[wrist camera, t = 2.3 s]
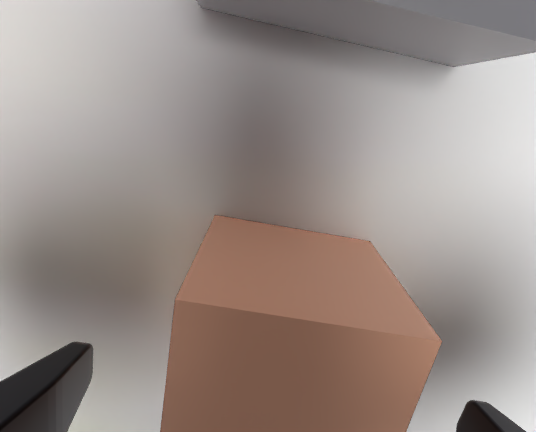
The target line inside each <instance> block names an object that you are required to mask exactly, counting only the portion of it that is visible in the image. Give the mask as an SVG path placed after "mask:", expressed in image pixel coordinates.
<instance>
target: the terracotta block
mask: <svg viewBox="0 0 536 432" xmlns="http://www.w3.org/2000/svg"><path fill="white" fill-rule="evenodd" d="M441 343H442V341H441V339H440V338H439V336H438V335H437V334H436V332H435V331H434V329H433V328H432V327H431V325H430V324H429V323H428V321H427V320H426V318H425V317H424V316H423V314H422V313H421V311H420V310H419V309H418V307H417V306H416V304H415V303H414V302H413V300H412V299H411V298H410V296H409V295H408V293H407V292H406V291H405V289H404V288H403V286H402V285H401V284H400V282H399V281H398V280H397V278H396V277H395V275H394V274H393V273H392V271H391V270H390V268H389V267H388V266H387V264H386V263H385V261H384V260H383V259H382V257H381V256H380V255H379V253H378V252H377V250H376V249H375V248H374V246H373V245H372V243H371V242H370V241H365V240H360V239H354V238H348V237H342V236H336V235H330V234H324V233H318V232H313V231H307V230H301V229H295V228H289V227H283V226H277V225H272V224H266V223H260V222H254V221H248V220H242V219H236V218H231V217H225V216H219V215H215V216H214V218H213V220H212V222H211V224H210V227H209V229H208V231H207V233H206V235H205V237H204V239H203V241H202V243H201V246H200V248H199V250H198V252H197V254H196V256H195V258H194V260H193V262H192V265H191V267H190V269H189V271H188V273H187V275H186V277H185V279H184V282H183V284H182V286H181V288H180V290H179V292H178V294H177V296H176V298H175V304H174V313H173V322H172V331H171V340H170V349H169V358H168V367H167V376H166V385H165V394H164V403H163V412H162V421H161V430H160V432H406V430H407V428H408V425H409V423H410V420H411V418H412V415H413V413H414V410H415V408H416V405H417V403H418V400H419V398H420V395H421V393H422V390H423V388H424V385H425V383H426V380H427V378H428V375H429V373H430V370H431V368H432V365H433V363H434V360H435V358H436V355H437V353H438V350H439V348H440V345H441Z"/></svg>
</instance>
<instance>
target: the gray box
mask: <svg viewBox="0 0 536 432" xmlns="http://www.w3.org/2000/svg"><path fill="white" fill-rule="evenodd" d="M196 1H197V3H198V4H199V5H200V7H201V8H205V9H209V10H213V11H218V12H222V13H226V14H230V15H235V16H239V17H243V18H248V19H252V20H256V21H260V22H265V23H269V24H273V25H277V26H282V27H286V28H290V29H295V30H299V31H303V32H307V33H312V34H316V35H320V36H325V37H329V38H333V39H337V40H342V41H346V42H350V43H354V44H359V45H363V46H367V47H372V48H376V49H380V50H384V51H389V52H393V53H397V54H401V55H406V56H410V57H414V58H419V59H423V60H427V61H431V62H436V63H440V64H444V65H448V66H453V67H456V66H462V65H467V64H473V63H478V62H484V61H489V60H495V59H500V58H506V57H511V56H517V55H523V54H528V53H534V52H536V0H196Z"/></svg>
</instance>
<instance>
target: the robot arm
mask: <svg viewBox="0 0 536 432" xmlns="http://www.w3.org/2000/svg"><path fill="white" fill-rule="evenodd" d="M92 372H93V347H92V345H91V344H88V343H82V342H72V343H70V344H68V345H66V346H64V347H63V348H61V349H59V350H57V351H55V352H53V353H52V354H50V355H48V356H46V357H44V358H42V359H41V360H39V361H37V362H35V363H33V364H32V365H30V366H28V367H26V368H24V369H22V370H21V371H19V372H17V373H15V374H13V375H11V376H10V377H8V378H6V379H4V380H2V381H1V382H0V432H67V431H68V428H69V426H70V424H71V422H72V420H73V418H74V416H75V414H76V411H77V409H78V407H79V405H80V403H81V401H82V399H83V397H84V394H85V392H86V390H87V388H88V386H89V384H90V381H91V378H92ZM456 432H526V431H525V430H523V429H522V428H521V427H519V426H518V425H517V424H515V423H514V422H513V421H511V420H510V419H509V418H508V417H506V416H505V415H504V414H502V413H501V412H500V411H498V410H497V409H496V408H494V407H493V406H492V405H490V404H489V403H486V402H482V401H475V400H470V401H469V402H467V404H466V406H465V408H464V410H463V412H462V414H461V417H460V419H459V421H458V423H457V427H456Z"/></svg>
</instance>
